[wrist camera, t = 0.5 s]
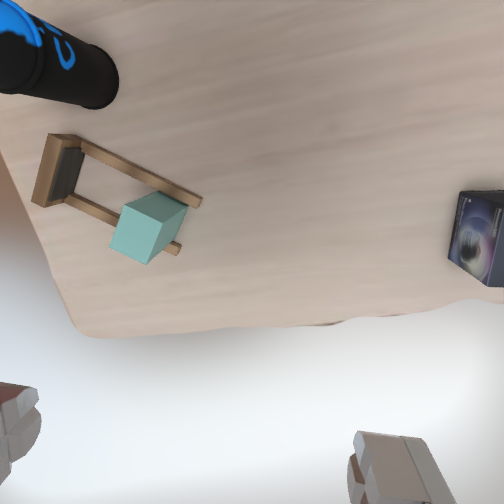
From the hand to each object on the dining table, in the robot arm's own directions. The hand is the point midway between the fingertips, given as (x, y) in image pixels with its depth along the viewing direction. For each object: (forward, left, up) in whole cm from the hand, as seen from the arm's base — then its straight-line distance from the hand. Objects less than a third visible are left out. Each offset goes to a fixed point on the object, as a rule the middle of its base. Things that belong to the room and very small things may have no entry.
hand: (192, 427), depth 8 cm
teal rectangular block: (+3, -15, -43) cm, 46 cm away
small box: (+7, +31, -43) cm, 53 cm away
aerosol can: (-17, -23, -43) cm, 52 cm away
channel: (0, -21, -43) cm, 48 cm away
